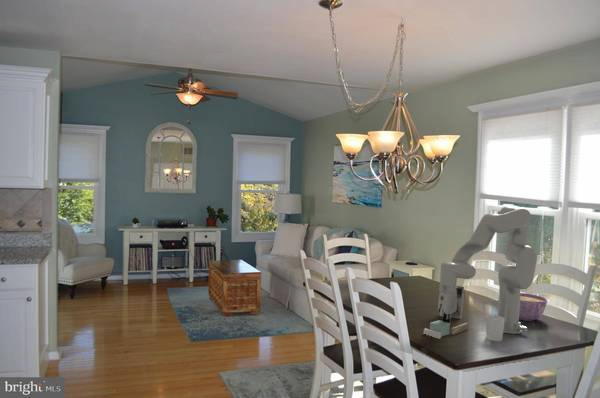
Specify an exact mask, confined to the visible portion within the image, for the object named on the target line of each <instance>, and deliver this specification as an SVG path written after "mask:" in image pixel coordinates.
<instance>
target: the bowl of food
mask: <svg viewBox="0 0 600 398" xmlns="http://www.w3.org/2000/svg"><path fill="white" fill-rule="evenodd" d="M547 304H548V299H547V298H546V297H544V296H541V295H538V294H532V293H523V292H520V311H519V321H520V320H521V321H526V322H533V321H534V320H537V319H539V318H541V317H542V316H543V314H544V312H545V310H546V307H547Z"/></svg>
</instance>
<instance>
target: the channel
mask: <svg viewBox="0 0 600 398" xmlns="http://www.w3.org/2000/svg"><path fill="white" fill-rule="evenodd" d="M451 319H452V318H451ZM451 319H450V324H451V321H452V320H451ZM468 330H469V323H468V322H464V323H461V324H458V325H455V326H453V327H451V329H450V335H451V336H454V335H457V334H460V333H462V332H464V331H468Z"/></svg>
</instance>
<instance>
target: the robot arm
mask: <svg viewBox="0 0 600 398" xmlns="http://www.w3.org/2000/svg"><path fill="white" fill-rule="evenodd" d="M531 217H532V216H531V212H530V210H528V209H527V208H524V207H520V206H514V205H513V206H511V205H509V206H508V205H507V206H503V207H501V208H500V211H499V214H498V213H497V214H496V213H487V214H484V215H483V216H482V217H481V218H480V221H479V222H478V225H477V226H476V228H475V230H474V232H473V233H472V235H471V237H470V238H469V240H467V242H465V243H464V244H463V245H462V246H461V247H460V248H459V249H457V251H456V253H455V254H454V255H453V256H454V257H452V259H451V261H443V262H442V263H441V264H440V276H439V294H438V303H437V311H438V313H439V317H441V319H442V320H441V321H443V322H447V323H450V319H452V318H451V314H452V313H454V312H456V311H457V294H456V286H458V285H457V284H458V283H457V282H458V279H462V280H471V279H473V278H474V277H475V276H476V273H477V272H476V271H477V270H476V268H475V267H474V265H473V264H471V263H470V262H469V260H470V259H471V258H472V257H473V256H474V255H475V254H477V253H480V252H483V251H485V250H486V249H487V248H488V247H489V245H490V244H491V242H492V239H493V238H494V236H495V235H496V234H504V233H508V234H507V241H506V246H505V251H504V256H505V259H506V260H507V261H508V262H511V263H513V264H516V265H513V264H504V265H503V266H501V267H500V269H499V271H498V275H497V277H498V278H497V279H498V285H499V286H498V288H499V290H498V293H499V294H498V306H497V307H498V308H497V316H501V317H503V318H505V322H504V330H503V334H508V335H509V334H510V335H511V334H512V335H517V334H518V335H519V334H521V333H522V332H528V327H527V326H525V325H522V322H521V321H520V319H519V311H520V293H521V290H527V289H529V288H530V287H531V286H532V283H533V281H534V277H535V272H536V265H537V261H538V260H537V259H538V257H537V253H536V250H535V249H534V248H533V247H532V246H530V245H528V244H527V242H528V228H527V225H528V224H529V223H530V221H531V220H532V219H531ZM468 262H469V263H468ZM450 324H451V323H450Z"/></svg>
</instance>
